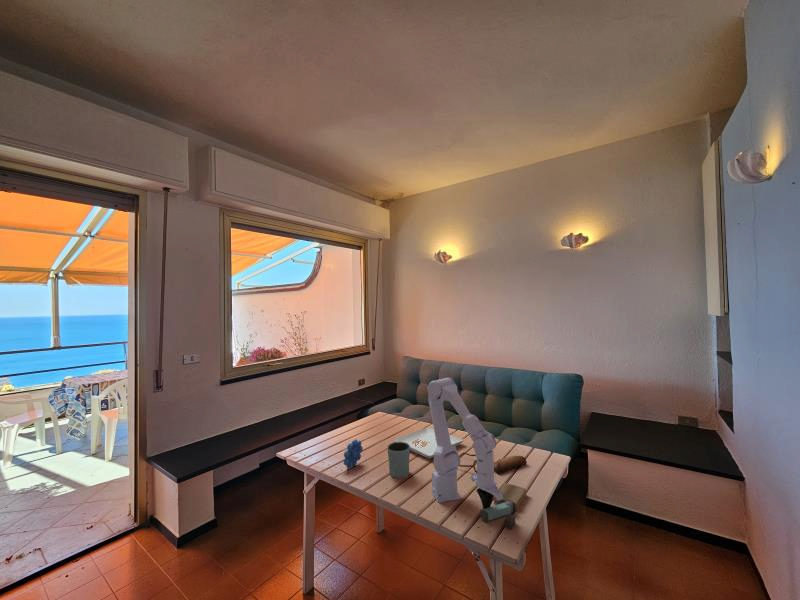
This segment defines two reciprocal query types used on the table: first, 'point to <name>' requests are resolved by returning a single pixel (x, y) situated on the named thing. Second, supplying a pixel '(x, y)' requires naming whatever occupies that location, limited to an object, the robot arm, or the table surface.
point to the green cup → (398, 459)
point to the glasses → (469, 465)
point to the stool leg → (496, 511)
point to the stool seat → (511, 500)
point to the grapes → (352, 453)
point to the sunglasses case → (508, 463)
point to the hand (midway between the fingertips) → (486, 510)
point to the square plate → (426, 436)
